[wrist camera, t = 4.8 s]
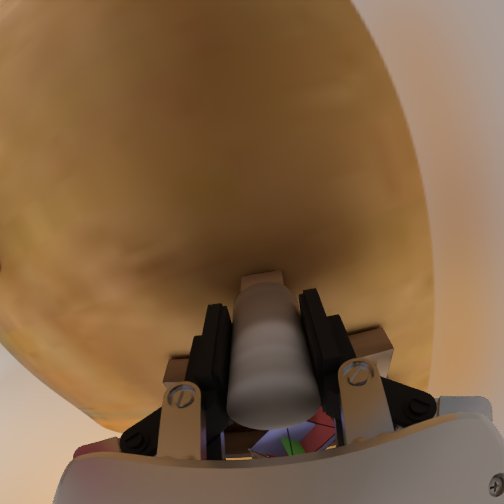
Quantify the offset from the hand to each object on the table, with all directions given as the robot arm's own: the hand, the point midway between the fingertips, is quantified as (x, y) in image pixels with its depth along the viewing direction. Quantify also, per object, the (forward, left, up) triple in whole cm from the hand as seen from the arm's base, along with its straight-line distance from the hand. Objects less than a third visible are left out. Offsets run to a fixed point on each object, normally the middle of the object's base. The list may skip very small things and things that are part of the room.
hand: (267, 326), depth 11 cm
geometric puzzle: (+13, +1, -3) cm, 13 cm away
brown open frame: (+7, 0, -3) cm, 8 cm away
